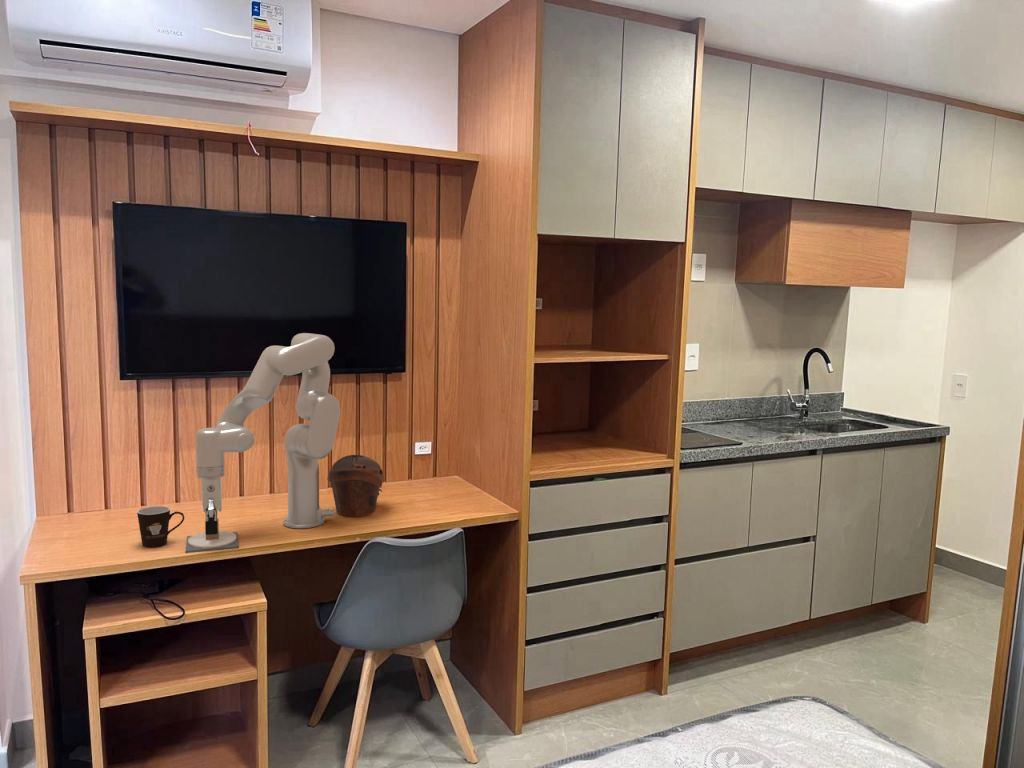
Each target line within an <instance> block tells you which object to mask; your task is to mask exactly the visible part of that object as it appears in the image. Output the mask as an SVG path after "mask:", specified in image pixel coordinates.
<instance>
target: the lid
mask: <svg viewBox="0 0 1024 768" xmlns="http://www.w3.org/2000/svg"><path fill="white" fill-rule="evenodd" d="M216 520H217V529H218V533H217V534H213V535H206V534H205V532H204V531H203V532H200V533H196V534H193V535H190V536H191V537H190V538H189V539H188V544H189V545H190V546H191V547H195V548H217V547H223V546H226V545H229V544H232V543H234V542H235V541H236V534H234V533H232V532H233V531H227V530H220V529H219V526H220V524H219V518H217V519H216Z"/></svg>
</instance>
